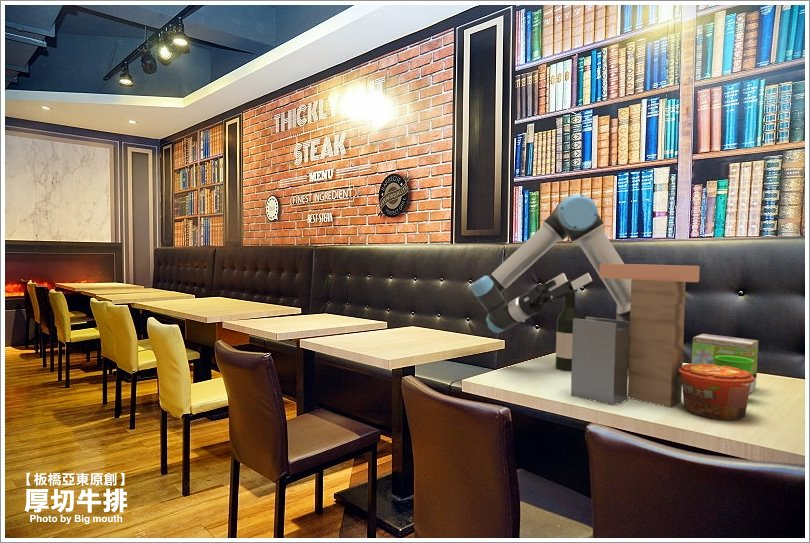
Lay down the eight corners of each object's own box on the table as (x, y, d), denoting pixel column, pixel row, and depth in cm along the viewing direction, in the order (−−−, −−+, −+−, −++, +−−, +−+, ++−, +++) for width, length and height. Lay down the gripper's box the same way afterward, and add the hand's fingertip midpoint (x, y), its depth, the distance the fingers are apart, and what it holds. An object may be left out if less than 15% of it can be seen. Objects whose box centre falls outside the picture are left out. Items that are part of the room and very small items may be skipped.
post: (639, 393, 143) (643, 278, 142) (681, 402, 135) (685, 280, 133) (627, 397, 138) (631, 279, 137) (670, 407, 130) (674, 281, 129)
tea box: (689, 385, 153) (691, 336, 152) (699, 379, 160) (701, 332, 160) (749, 395, 142) (751, 343, 142) (757, 389, 149) (759, 339, 149)
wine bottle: (550, 366, 176) (553, 279, 175) (573, 365, 178) (575, 279, 177) (562, 371, 168) (564, 280, 167) (585, 371, 170) (588, 280, 168)
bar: (605, 277, 147) (605, 263, 146) (699, 281, 130) (699, 265, 130) (599, 277, 144) (599, 263, 144) (694, 282, 127) (695, 266, 127)
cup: (759, 404, 133) (761, 363, 133) (720, 402, 135) (722, 361, 135) (743, 395, 142) (745, 356, 142) (708, 393, 144) (709, 354, 144)
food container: (694, 399, 137) (696, 360, 137) (763, 415, 125) (765, 371, 124) (664, 409, 128) (666, 367, 128) (736, 428, 115) (738, 380, 115)
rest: (585, 390, 145) (587, 316, 144) (627, 400, 136) (629, 321, 135) (570, 395, 140) (573, 318, 139) (613, 405, 131) (615, 323, 130)
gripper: (552, 314, 174) (604, 287, 160) (505, 319, 158) (559, 289, 144) (543, 294, 177) (594, 266, 162) (496, 297, 161) (548, 265, 146)
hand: (578, 276), depth 153 cm, fingers open, 13 cm apart
